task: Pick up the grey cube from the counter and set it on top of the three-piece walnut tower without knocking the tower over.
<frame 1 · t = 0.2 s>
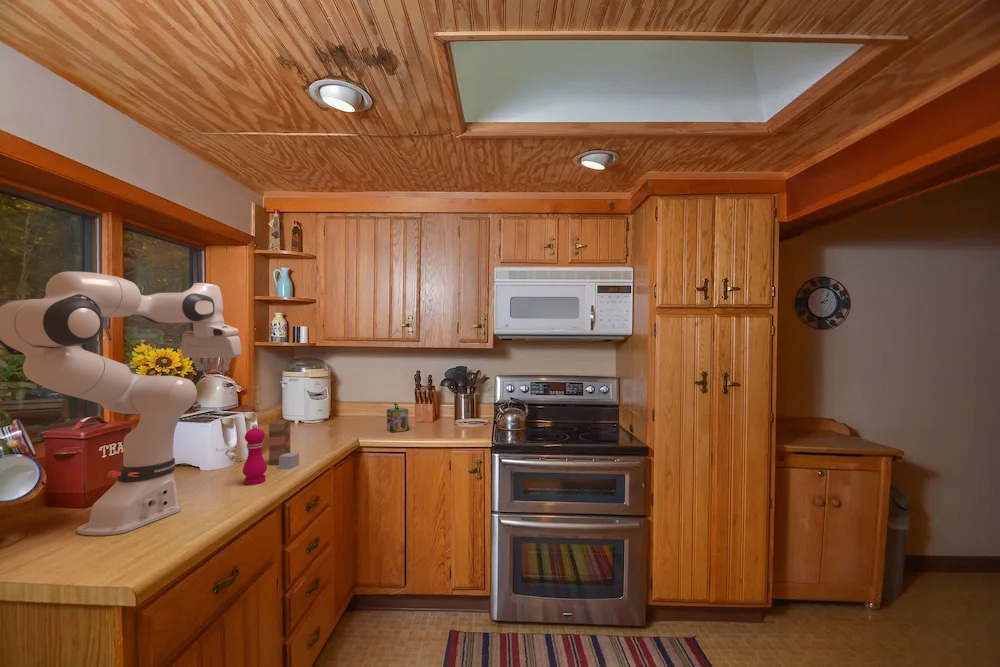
hand: (212, 370, 146), 39 cm above the countertop, tool pointing down, fingers open, 8 cm apart
tower base: (279, 463, 168), on the countertop, touching tower mid
pepper mill: (254, 482, 146), on the countertop
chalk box: (397, 430, 229), on the countertop
tower top: (279, 435, 169), point 11 cm above the countertop, touching tower mid
grey cube: (289, 467, 163), on the countertop
tower mid: (279, 449, 169), point 5 cm above the countertop, touching tower base, tower top
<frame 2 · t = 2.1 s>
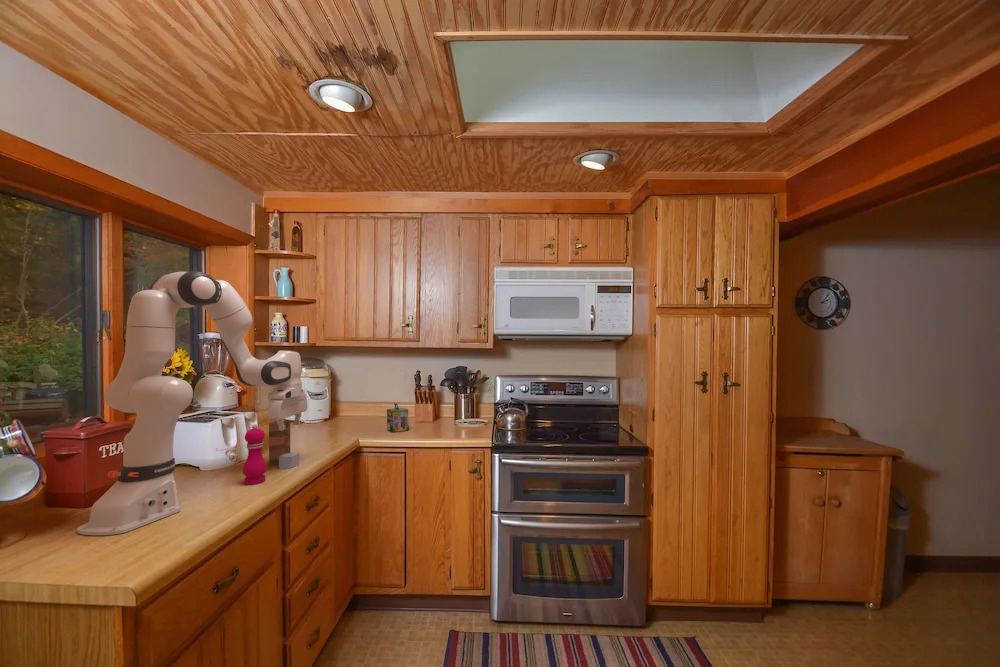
hand: (289, 427, 163), 15 cm above the countertop, tool pointing down, fingers open, 8 cm apart
nothing on the countertop moved.
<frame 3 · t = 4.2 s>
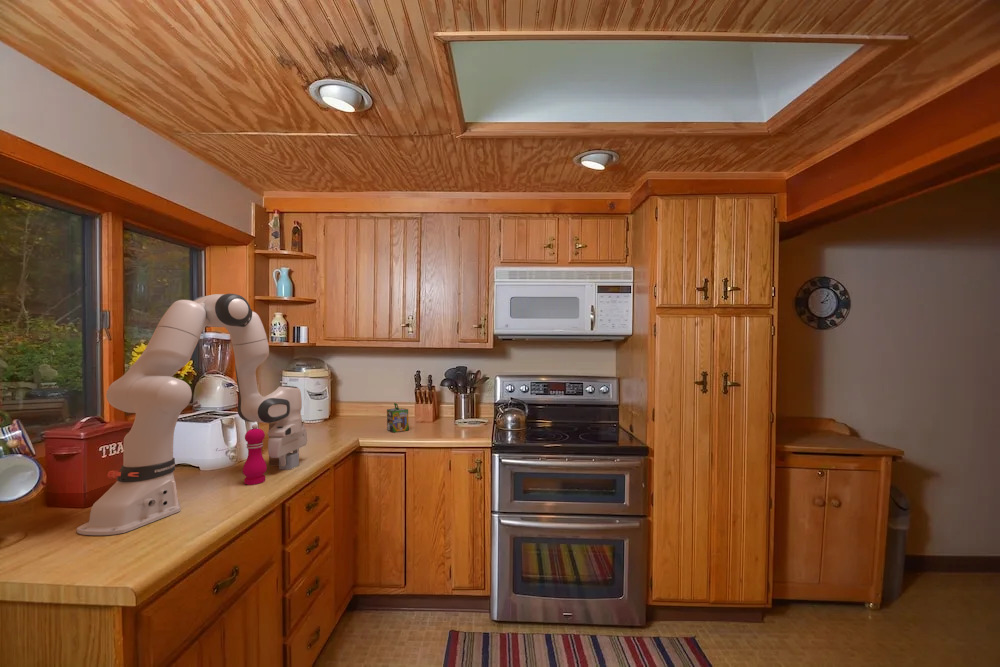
hand: (289, 463, 163), 2 cm above the countertop, tool pointing down, fingers closed on grey cube, 5 cm apart
grey cube: (289, 467, 163), on the countertop, touching gripper
everything else where it was.
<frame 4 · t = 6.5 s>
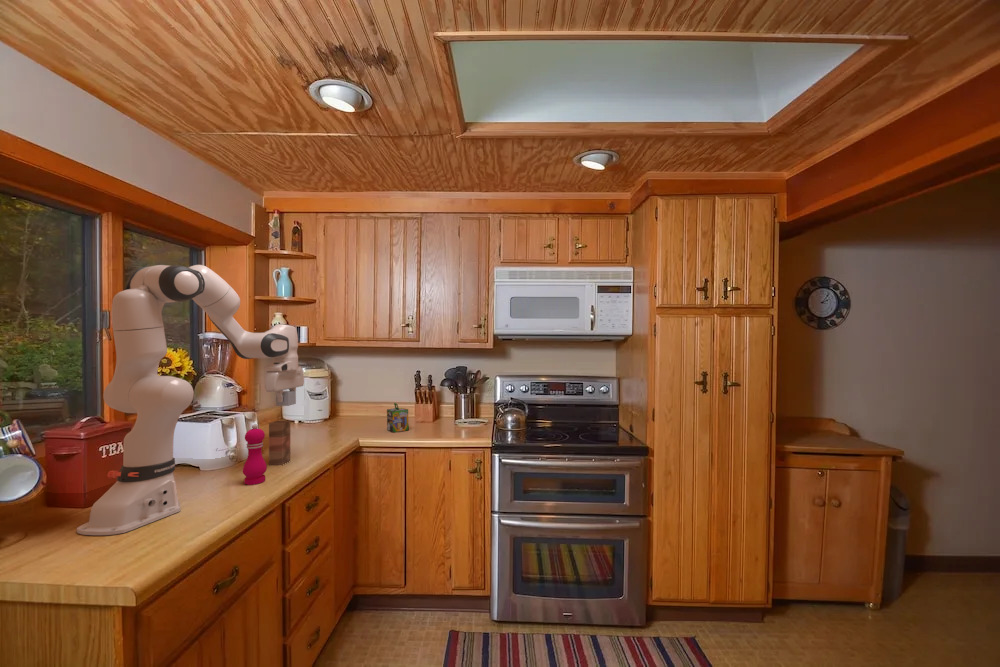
hand: (285, 400, 166), 25 cm above the countertop, tool pointing down, fingers closed on grey cube, 5 cm apart
grey cube: (286, 404, 166), point 24 cm above the countertop, touching gripper
everything else where it was.
when the fingers open (19 cm above the countertop, at t = 9.0 s): grey cube drops 1 cm, resting on tower top.
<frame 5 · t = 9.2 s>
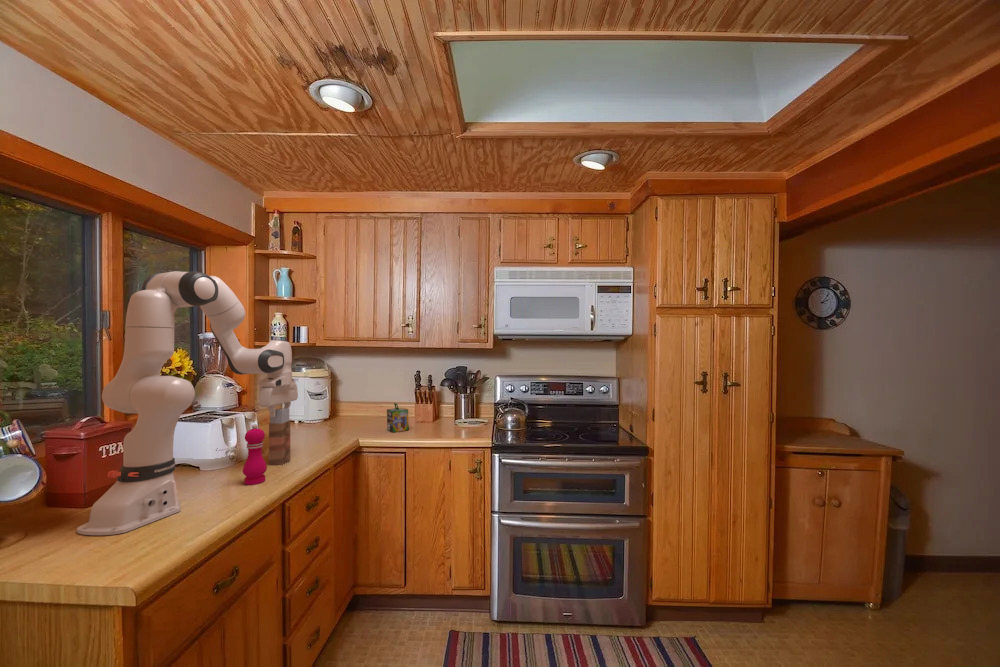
hand: (279, 414, 169), 19 cm above the countertop, tool pointing down, fingers open, 7 cm apart
tower top: (279, 435, 169), point 11 cm above the countertop, touching grey cube, tower mid
grey cube: (279, 422, 169), point 16 cm above the countertop, touching tower top
everything else where it was.
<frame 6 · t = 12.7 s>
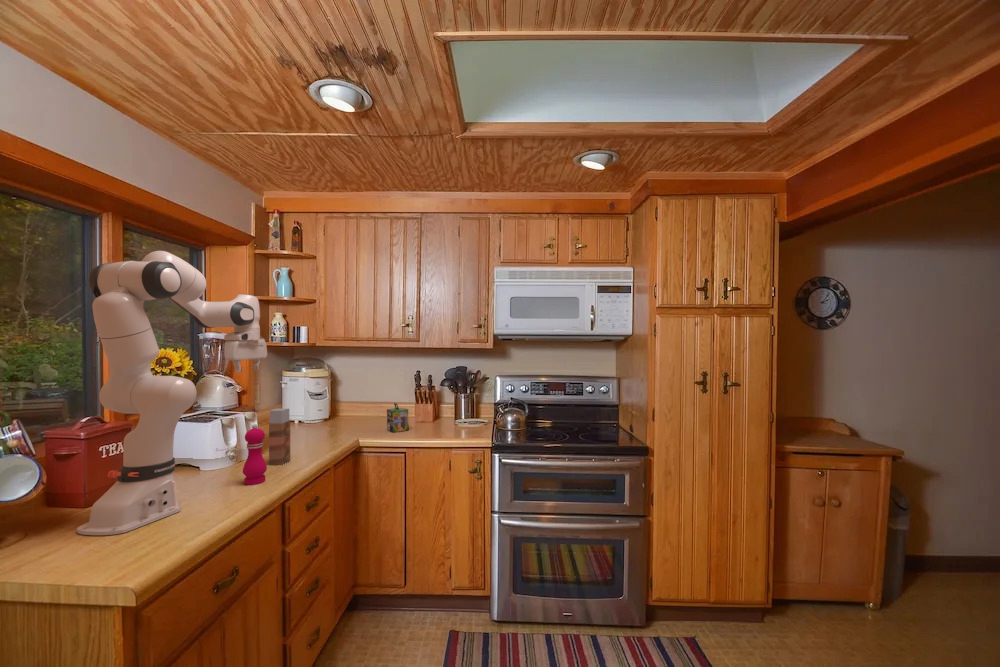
hand: (247, 371, 166), 37 cm above the countertop, tool pointing down, fingers open, 8 cm apart
nothing on the countertop moved.
at the end: grey cube 0.1 cm off-centre on the tower top, point 5.5 cm above the tower top's base; tower top tilted 0°; tower base tilted 0° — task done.
